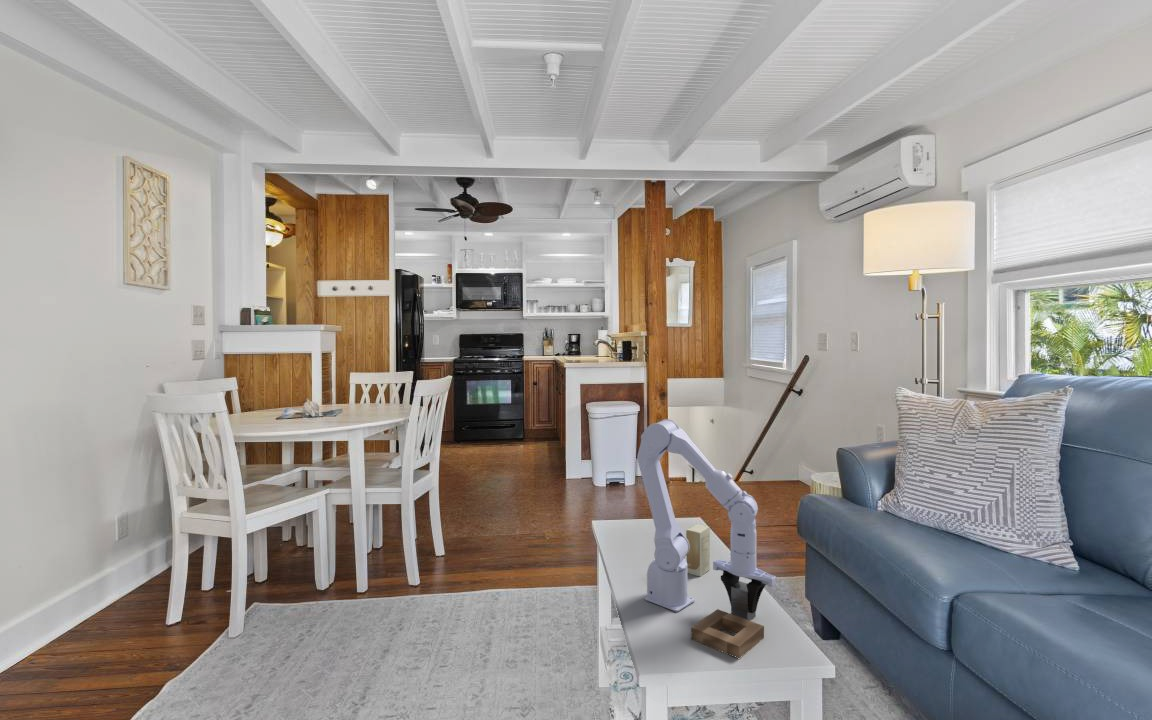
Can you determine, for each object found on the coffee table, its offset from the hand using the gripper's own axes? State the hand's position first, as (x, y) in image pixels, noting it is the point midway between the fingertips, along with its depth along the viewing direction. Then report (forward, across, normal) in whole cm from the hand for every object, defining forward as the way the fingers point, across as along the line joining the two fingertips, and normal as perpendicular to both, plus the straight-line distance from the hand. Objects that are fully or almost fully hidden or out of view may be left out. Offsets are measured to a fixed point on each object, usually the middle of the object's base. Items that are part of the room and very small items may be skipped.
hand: (743, 608), depth 126 cm
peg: (+2, 0, 0) cm, 2 cm away
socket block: (+2, -2, +11) cm, 11 cm away
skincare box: (+2, +21, -15) cm, 26 cm away
